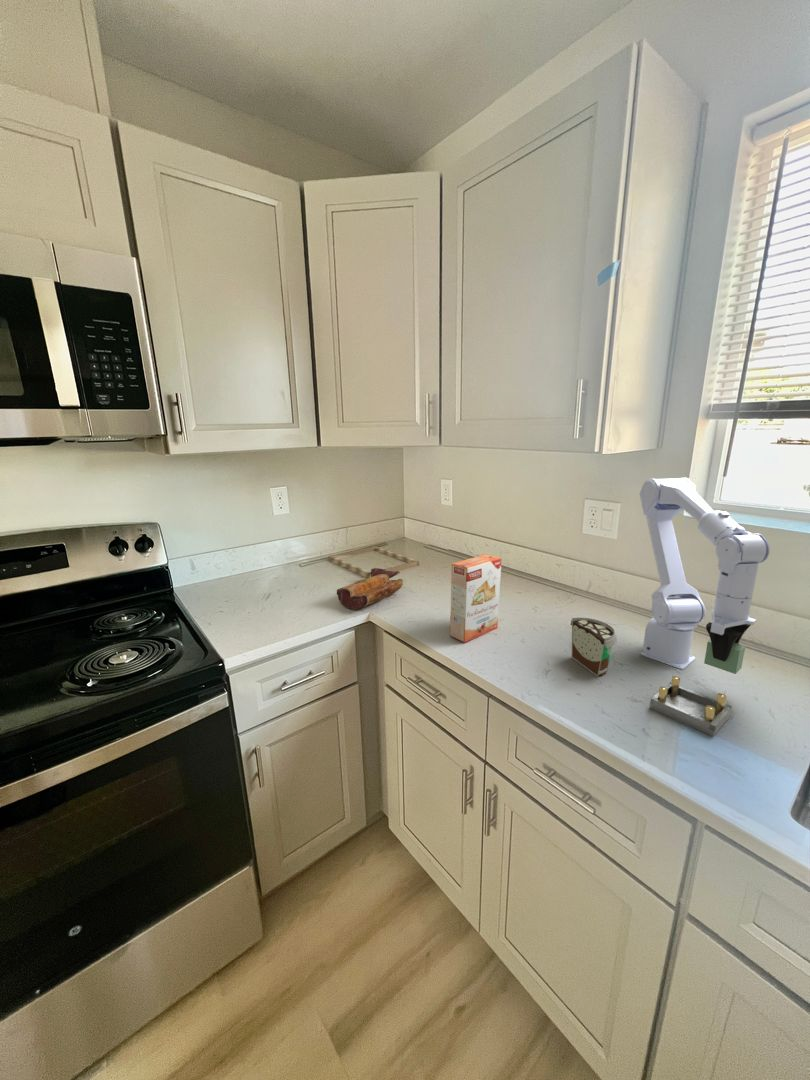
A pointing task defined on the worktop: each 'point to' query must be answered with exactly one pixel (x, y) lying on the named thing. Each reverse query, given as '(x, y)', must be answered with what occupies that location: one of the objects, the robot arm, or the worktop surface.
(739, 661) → the block
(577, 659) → the food container
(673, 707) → the chassis
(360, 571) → the rim
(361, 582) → the cured meat
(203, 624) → the worktop surface
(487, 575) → the cracker box
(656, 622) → the robot arm
